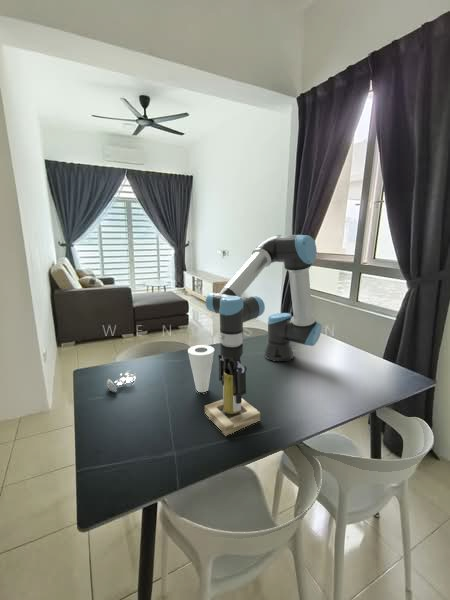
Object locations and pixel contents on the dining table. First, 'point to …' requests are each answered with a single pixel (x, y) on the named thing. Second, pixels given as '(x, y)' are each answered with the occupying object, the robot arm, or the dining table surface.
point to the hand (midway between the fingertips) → (231, 405)
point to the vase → (228, 393)
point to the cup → (201, 365)
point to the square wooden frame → (231, 416)
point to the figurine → (122, 380)
